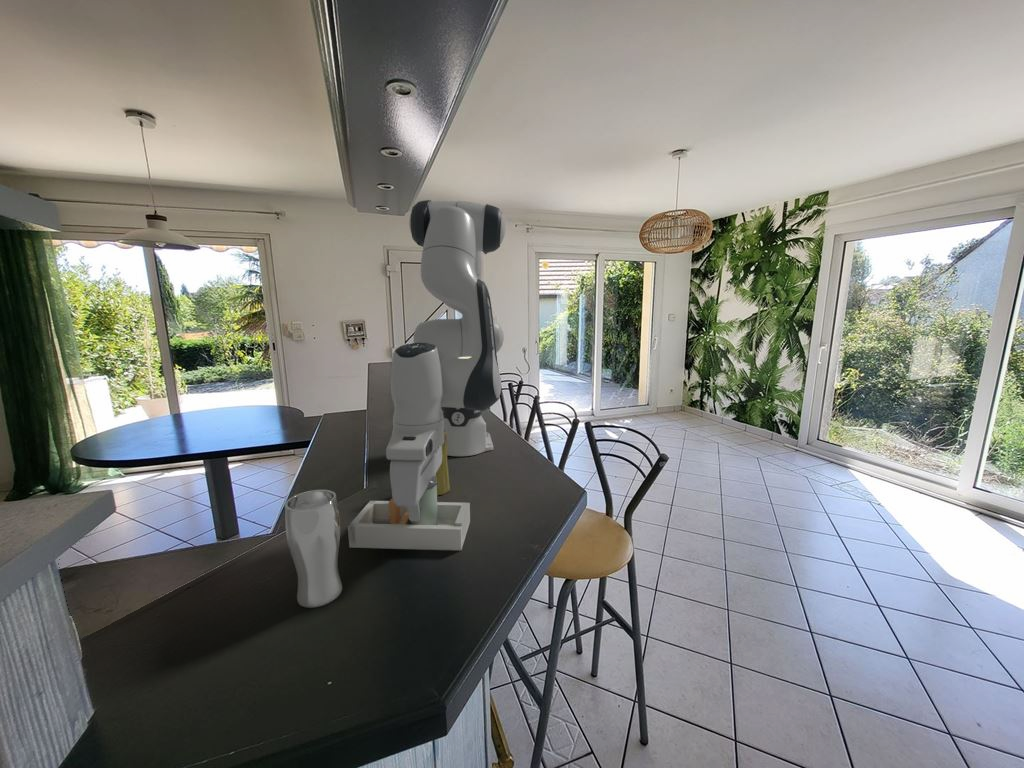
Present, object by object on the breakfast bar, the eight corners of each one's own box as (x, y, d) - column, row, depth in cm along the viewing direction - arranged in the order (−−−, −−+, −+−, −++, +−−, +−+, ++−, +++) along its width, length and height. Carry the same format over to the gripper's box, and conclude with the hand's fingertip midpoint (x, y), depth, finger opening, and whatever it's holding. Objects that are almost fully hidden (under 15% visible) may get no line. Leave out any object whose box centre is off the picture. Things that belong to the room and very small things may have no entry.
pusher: (381, 517, 81) (379, 491, 80) (415, 518, 80) (414, 491, 79) (366, 536, 74) (364, 508, 73) (404, 537, 73) (402, 508, 72)
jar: (414, 521, 80) (411, 473, 78) (441, 522, 79) (439, 474, 78) (405, 536, 74) (402, 485, 72) (435, 537, 74) (432, 486, 72)
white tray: (371, 519, 82) (370, 498, 82) (470, 521, 81) (469, 500, 81) (349, 547, 73) (347, 524, 72) (461, 550, 71) (460, 526, 71)
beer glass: (309, 578, 64) (300, 488, 62) (353, 578, 64) (345, 489, 61) (283, 610, 57) (272, 510, 55) (332, 611, 57) (323, 511, 55)
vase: (444, 497, 92) (442, 436, 90) (419, 494, 93) (416, 434, 91) (453, 485, 98) (451, 428, 95) (429, 483, 99) (427, 427, 97)
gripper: (418, 419, 84) (421, 482, 86) (381, 453, 64) (386, 535, 66) (448, 419, 83) (450, 483, 86) (421, 454, 63) (425, 536, 66)
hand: (422, 506), depth 76 cm, fingers open, 8 cm apart
